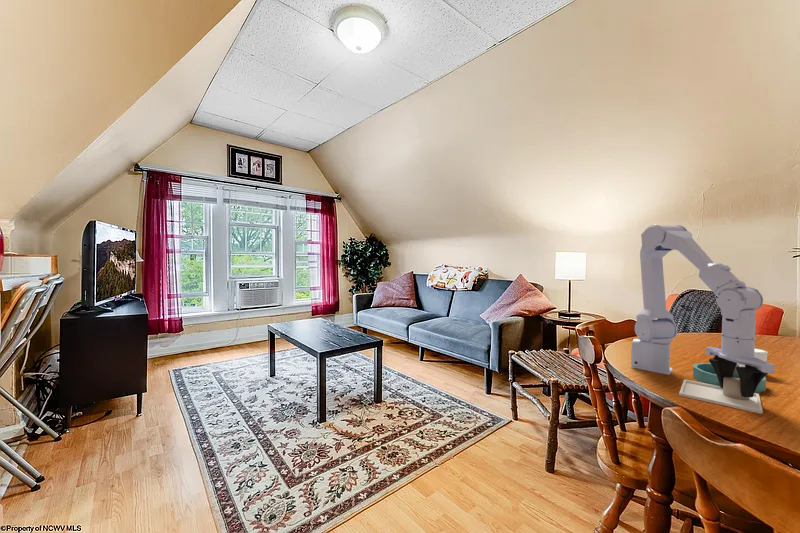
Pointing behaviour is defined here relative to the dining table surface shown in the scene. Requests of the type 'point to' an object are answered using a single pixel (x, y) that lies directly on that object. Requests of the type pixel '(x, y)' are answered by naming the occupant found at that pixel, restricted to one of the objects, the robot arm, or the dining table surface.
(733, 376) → the charcoal stone
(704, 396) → the parts tray
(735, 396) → the brown stone
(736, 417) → the dining table surface
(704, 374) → the bowl
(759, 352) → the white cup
